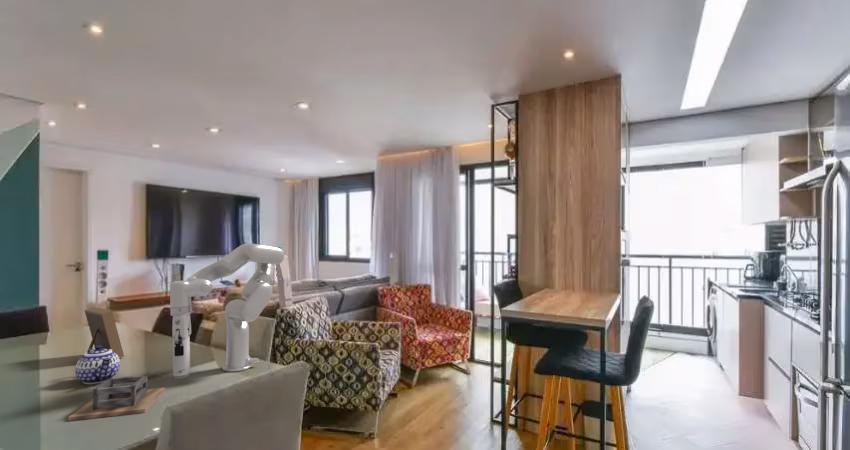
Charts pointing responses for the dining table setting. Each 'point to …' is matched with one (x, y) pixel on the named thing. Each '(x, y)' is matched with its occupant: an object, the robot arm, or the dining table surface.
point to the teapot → (97, 365)
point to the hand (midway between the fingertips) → (181, 353)
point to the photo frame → (103, 330)
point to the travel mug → (181, 360)
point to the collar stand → (119, 398)
